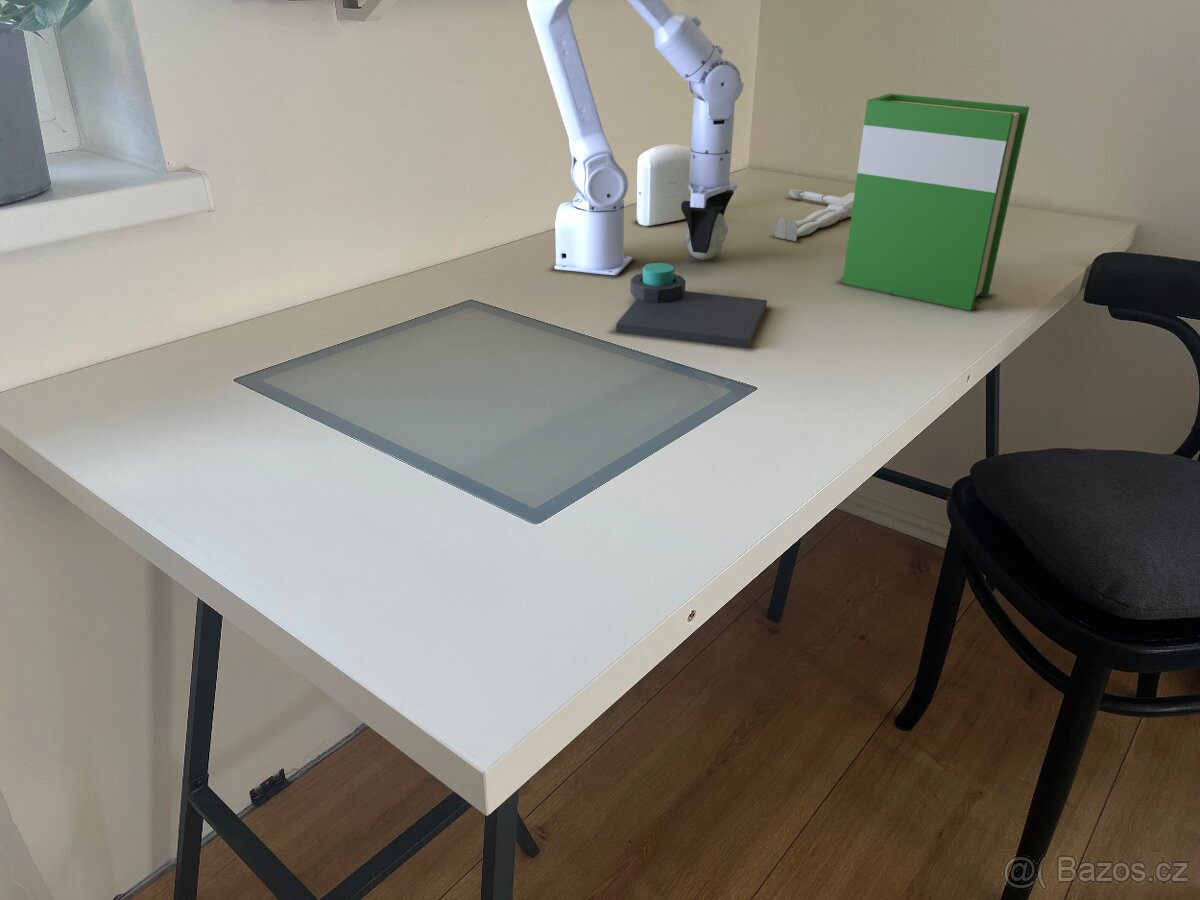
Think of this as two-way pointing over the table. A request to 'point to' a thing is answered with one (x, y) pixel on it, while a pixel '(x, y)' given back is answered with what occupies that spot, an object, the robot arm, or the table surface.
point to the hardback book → (932, 196)
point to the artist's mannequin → (816, 215)
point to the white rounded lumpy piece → (716, 239)
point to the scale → (691, 314)
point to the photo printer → (662, 184)
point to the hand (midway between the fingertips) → (705, 245)
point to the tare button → (658, 274)
